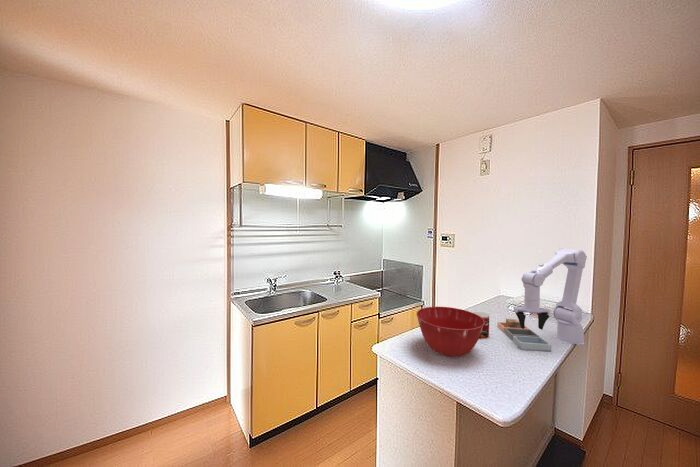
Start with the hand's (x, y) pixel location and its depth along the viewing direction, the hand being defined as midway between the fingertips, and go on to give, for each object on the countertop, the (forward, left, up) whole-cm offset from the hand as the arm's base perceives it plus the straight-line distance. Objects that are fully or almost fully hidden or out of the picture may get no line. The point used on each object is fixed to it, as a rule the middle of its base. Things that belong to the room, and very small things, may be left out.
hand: (531, 328), depth 121 cm
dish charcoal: (0, -9, -8) cm, 12 cm away
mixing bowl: (+38, +9, -9) cm, 40 cm away
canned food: (+19, -9, -9) cm, 23 cm away
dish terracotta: (0, -18, -8) cm, 20 cm away
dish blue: (0, 0, -8) cm, 8 cm away
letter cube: (0, -18, -8) cm, 20 cm away
